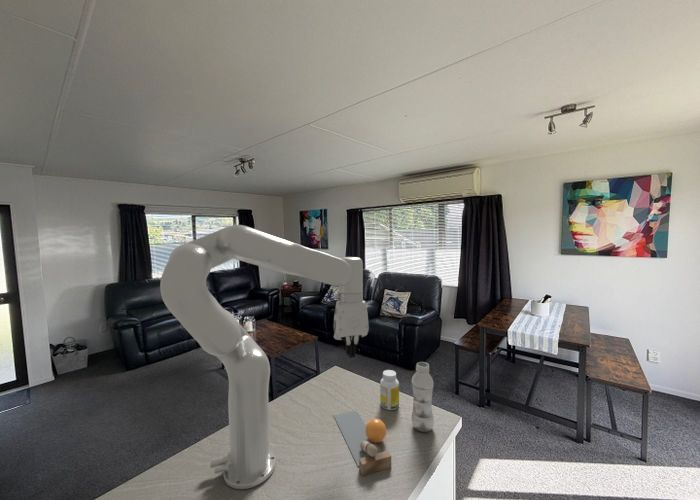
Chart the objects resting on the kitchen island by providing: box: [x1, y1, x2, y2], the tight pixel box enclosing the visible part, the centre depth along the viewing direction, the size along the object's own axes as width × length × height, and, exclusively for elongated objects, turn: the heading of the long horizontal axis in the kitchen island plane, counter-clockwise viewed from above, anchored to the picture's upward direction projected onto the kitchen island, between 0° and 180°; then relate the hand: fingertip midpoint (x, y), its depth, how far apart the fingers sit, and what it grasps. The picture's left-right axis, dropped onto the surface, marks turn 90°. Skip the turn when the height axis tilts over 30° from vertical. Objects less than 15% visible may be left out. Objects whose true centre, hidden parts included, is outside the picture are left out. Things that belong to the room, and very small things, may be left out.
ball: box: [365, 418, 387, 444], centre depth 82 cm, size 6×6×6 cm
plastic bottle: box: [411, 361, 435, 433], centre depth 87 cm, size 6×7×20 cm
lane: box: [333, 409, 383, 468], centre depth 85 cm, size 8×22×1 cm, turn 20°
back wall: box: [358, 450, 392, 477], centre depth 73 cm, size 8×2×3 cm, turn 110°
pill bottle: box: [379, 369, 400, 411], centre depth 99 cm, size 6×6×12 cm
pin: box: [360, 440, 378, 457], centre depth 76 cm, size 2×2×8 cm
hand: (351, 355), depth 88 cm, fingers closed
